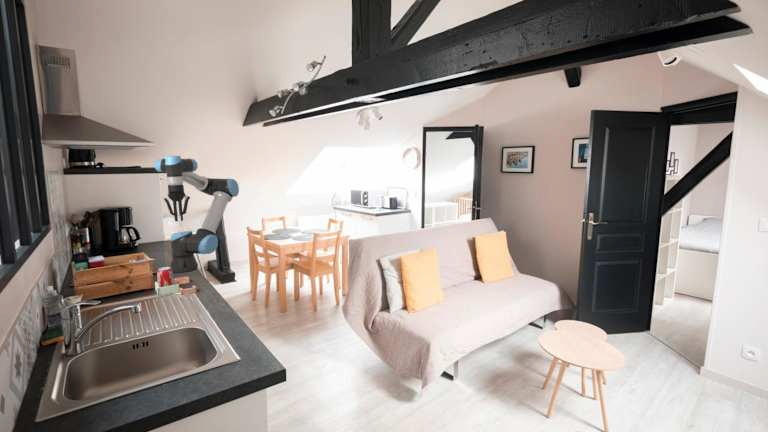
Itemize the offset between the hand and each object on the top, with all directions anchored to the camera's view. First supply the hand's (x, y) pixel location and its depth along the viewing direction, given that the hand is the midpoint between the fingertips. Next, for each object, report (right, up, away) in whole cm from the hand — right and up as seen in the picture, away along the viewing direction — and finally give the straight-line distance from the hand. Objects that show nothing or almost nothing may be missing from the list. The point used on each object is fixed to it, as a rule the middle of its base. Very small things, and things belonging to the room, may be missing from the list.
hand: (179, 226), depth 211 cm
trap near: (+13, -33, -16) cm, 39 cm away
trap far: (+2, -31, -1) cm, 31 cm away
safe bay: (+1, -33, -13) cm, 35 cm away
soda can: (0, -33, -13) cm, 35 cm away
